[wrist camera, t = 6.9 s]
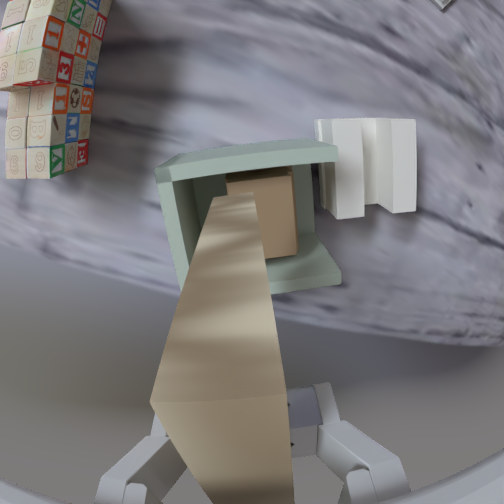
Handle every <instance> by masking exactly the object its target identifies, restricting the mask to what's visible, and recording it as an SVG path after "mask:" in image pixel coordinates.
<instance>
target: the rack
mask: <svg viewBox="0 0 504 504" xmlns="http://www.w3.org/2000/svg"><path fill="white" fill-rule="evenodd" d="M334 161H339V158H338V146H336V145H332V144H328V143H324V142H320V141H316V140H312V139H308V138H300V139H288V140H277V141H267V142H258V143H250V144H242V145H234V146H227V147H220V148H213V149H206V150H200V151H194V152H188V153H182V154H178V155H177V156H175V157H173V158H171V159H170V160H168V161H166V162H165V163H163V164H161V165H160V166H158V167H157V168H155V169H154V171H155V176H156V182H157V187H158V192H159V197H160V202H161V207H162V212H163V217H164V222H165V226H166V231H167V235H168V240H169V244H170V249H171V253H172V257H173V261H174V266H175V270H176V274H177V278H178V282H179V286H180V290H181V292H182V289H183V286H184V282H185V279H186V276H187V273H188V270H189V267H190V264H191V261H192V258H193V255H194V252H195V249H196V246H197V243H198V240H199V237H200V234H201V231H202V228H203V225H204V223H205V220H206V217H207V214H208V211H209V208H210V206H211V203H212V200H213V197H220V196H227V195H234V194H241V193H249V192H253V193H254V199H255V205H256V211H257V216H258V222H259V228H260V234H261V240H262V246H263V251H264V257H265V263H266V269H267V275H268V281H269V287H270V293H271V294H278V293H285V292H292V291H299V290H306V289H313V288H319V287H326V286H332V285H339V284H341V271H340V269H339V268H338V266H337V265H336V263H335V262H334V260H333V259H332V257H331V256H330V254H329V253H328V251H327V250H326V248H325V247H324V245H323V244H322V242H321V241H320V239H319V238H318V236H317V235H316V233H315V220H314V203H313V188H312V174H311V163H321V162H334Z"/></svg>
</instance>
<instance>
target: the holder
mask: <svg viewBox="0 0 504 504" xmlns="http://www.w3.org/2000/svg"><path fill="white" fill-rule="evenodd" d="M314 124H315V135H316V141H320V142H324V143H328V144H332V145H336V146H338V158H339V161H334V162H321V163H318V171H319V186H320V203H321V206H322V207H323V208H324V209H327V210H328V211H329V212H330V213H331V214H332V215H333V216H334V217H335V218H336V219H337V220H338V219H347V218H355V217H364V205H367V204H379V205H381V206H382V207H384V208H385V209H387V210H388V211H390V212H391V213H402V212H411V211H416V191H417V149H416V124H415V119H400V118H338V119H315V120H314Z"/></svg>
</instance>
